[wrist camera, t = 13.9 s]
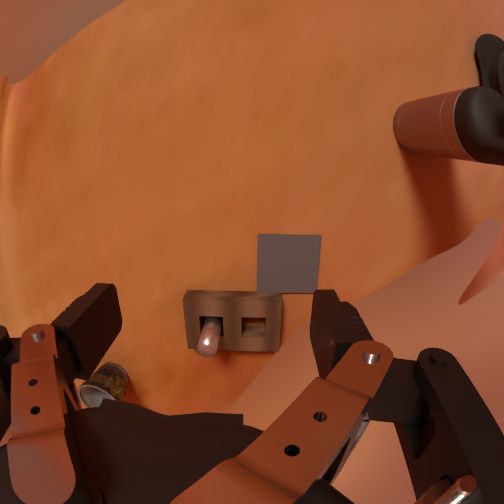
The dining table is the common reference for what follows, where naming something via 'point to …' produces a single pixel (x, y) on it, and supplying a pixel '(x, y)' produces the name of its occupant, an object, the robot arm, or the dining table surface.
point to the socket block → (235, 318)
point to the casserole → (491, 61)
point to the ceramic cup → (104, 385)
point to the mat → (287, 263)
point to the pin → (210, 336)
